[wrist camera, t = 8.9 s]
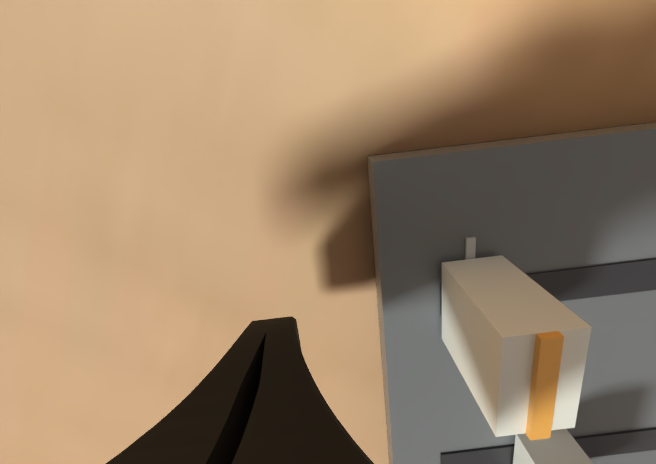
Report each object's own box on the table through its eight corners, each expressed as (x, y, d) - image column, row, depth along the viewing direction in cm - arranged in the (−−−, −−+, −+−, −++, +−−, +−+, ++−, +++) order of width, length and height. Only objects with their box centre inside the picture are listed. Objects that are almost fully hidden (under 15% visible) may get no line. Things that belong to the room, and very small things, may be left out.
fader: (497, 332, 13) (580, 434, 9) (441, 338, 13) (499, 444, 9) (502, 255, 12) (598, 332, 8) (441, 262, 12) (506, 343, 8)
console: (748, 474, 18) (780, 501, 17) (393, 516, 18) (399, 546, 17) (906, 92, 12) (975, 91, 11) (366, 156, 12) (373, 162, 11)
